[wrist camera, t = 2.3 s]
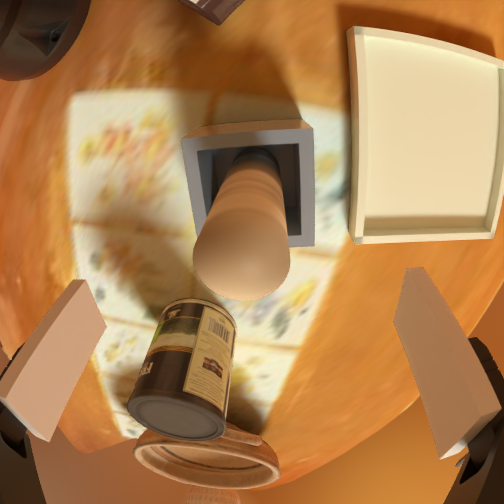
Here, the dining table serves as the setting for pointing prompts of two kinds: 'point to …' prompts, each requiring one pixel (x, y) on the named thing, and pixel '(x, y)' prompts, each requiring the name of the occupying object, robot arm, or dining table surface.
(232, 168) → the dowel
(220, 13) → the box
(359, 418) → the dining table surface
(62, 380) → the robot arm
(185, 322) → the coffee can
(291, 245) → the grey square bin
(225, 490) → the vase
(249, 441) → the ceramic bowl
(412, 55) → the tray
